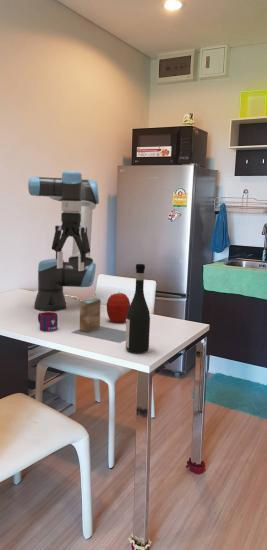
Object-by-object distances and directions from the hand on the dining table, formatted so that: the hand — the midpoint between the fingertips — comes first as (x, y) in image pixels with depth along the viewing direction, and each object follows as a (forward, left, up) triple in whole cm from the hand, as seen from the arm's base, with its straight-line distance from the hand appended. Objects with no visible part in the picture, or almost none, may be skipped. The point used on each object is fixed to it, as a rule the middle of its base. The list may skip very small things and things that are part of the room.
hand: (70, 269), depth 170 cm
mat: (+17, 0, -24) cm, 29 cm away
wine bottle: (+36, -9, -24) cm, 44 cm away
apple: (+12, +18, -24) cm, 32 cm away
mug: (-5, -8, -24) cm, 26 cm away
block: (+10, 0, -23) cm, 25 cm away
